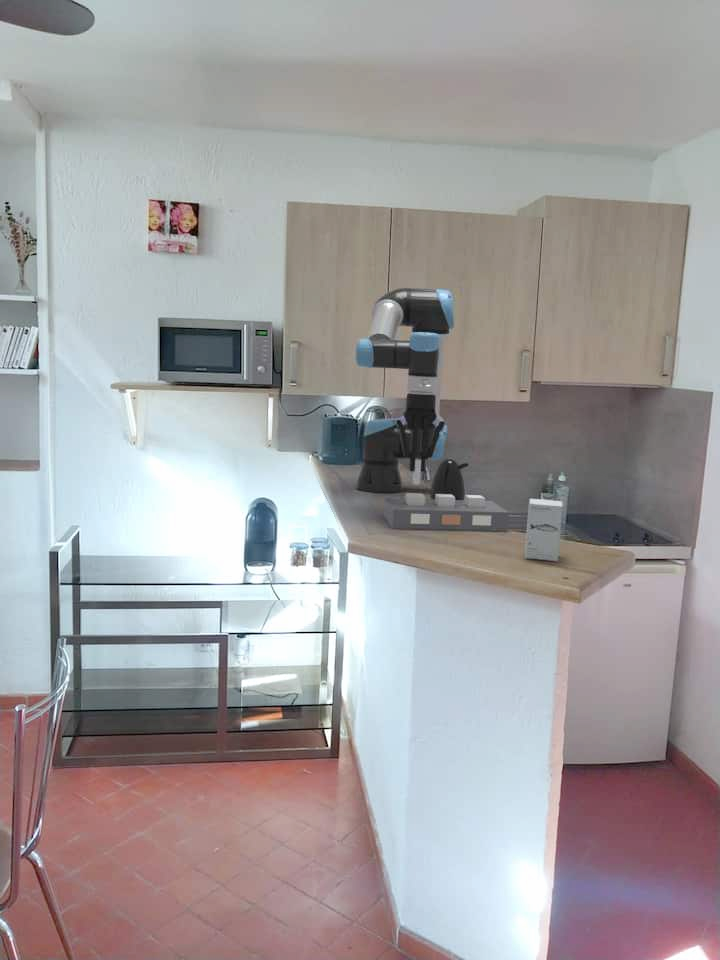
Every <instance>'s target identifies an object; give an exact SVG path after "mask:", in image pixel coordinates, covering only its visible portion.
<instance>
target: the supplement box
mask: <svg viewBox="0 0 720 960" xmlns="http://www.w3.org/2000/svg"><path fill="white" fill-rule="evenodd" d="M563 506H564V505H563V501H559V500H549V499H540V498H539V499H538V498H537V499H536V498H529V501H528V509H527V521H526V532H525V533H526V535H525V543H524V544H525V545H524V559H526V560H527V559H531V560H540V561H541V560H542V561H550V562H557V563H558V561H559V551H560V540H561V539H560V538H561V529H562V528H561V527H562V521H563V519H562V518H563V510H564V508H563Z"/></svg>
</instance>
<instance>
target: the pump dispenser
mask: <svg viewBox="0 0 720 960" xmlns="http://www.w3.org/2000/svg"><path fill="white" fill-rule="evenodd" d="M468 466H469V462H465V463H460V464H459V463H458V461H456V460H455V459H453V458H446V459H444V460H442V461H441V462H440V464H439V466H438V468H436V472H435V474H434V477H433V479H432V483H431V487H430V492H429V499H435V494H451V495H453V496H454V497H455V500H464V499H465V495H467V494H466V493H467V492H466V484H465V483H466V482H465V478H464V475H463V471H462V469H465V468H467V467H468Z"/></svg>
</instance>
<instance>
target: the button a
mask: <svg viewBox="0 0 720 960" xmlns="http://www.w3.org/2000/svg"><path fill="white" fill-rule="evenodd" d="M404 499H405V504H406V505H407V506H425V499H426V495H424V494H423V493H414V492H413V493H412V492H411V493H410V492H405V498H404Z"/></svg>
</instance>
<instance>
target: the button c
mask: <svg viewBox="0 0 720 960" xmlns="http://www.w3.org/2000/svg"><path fill="white" fill-rule="evenodd" d="M485 501H486V498H485V497H484V496H483V495H479V494H478V495H475V494H466V495H465V499H464V505H465V506H466V507H470V508H485Z"/></svg>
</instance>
